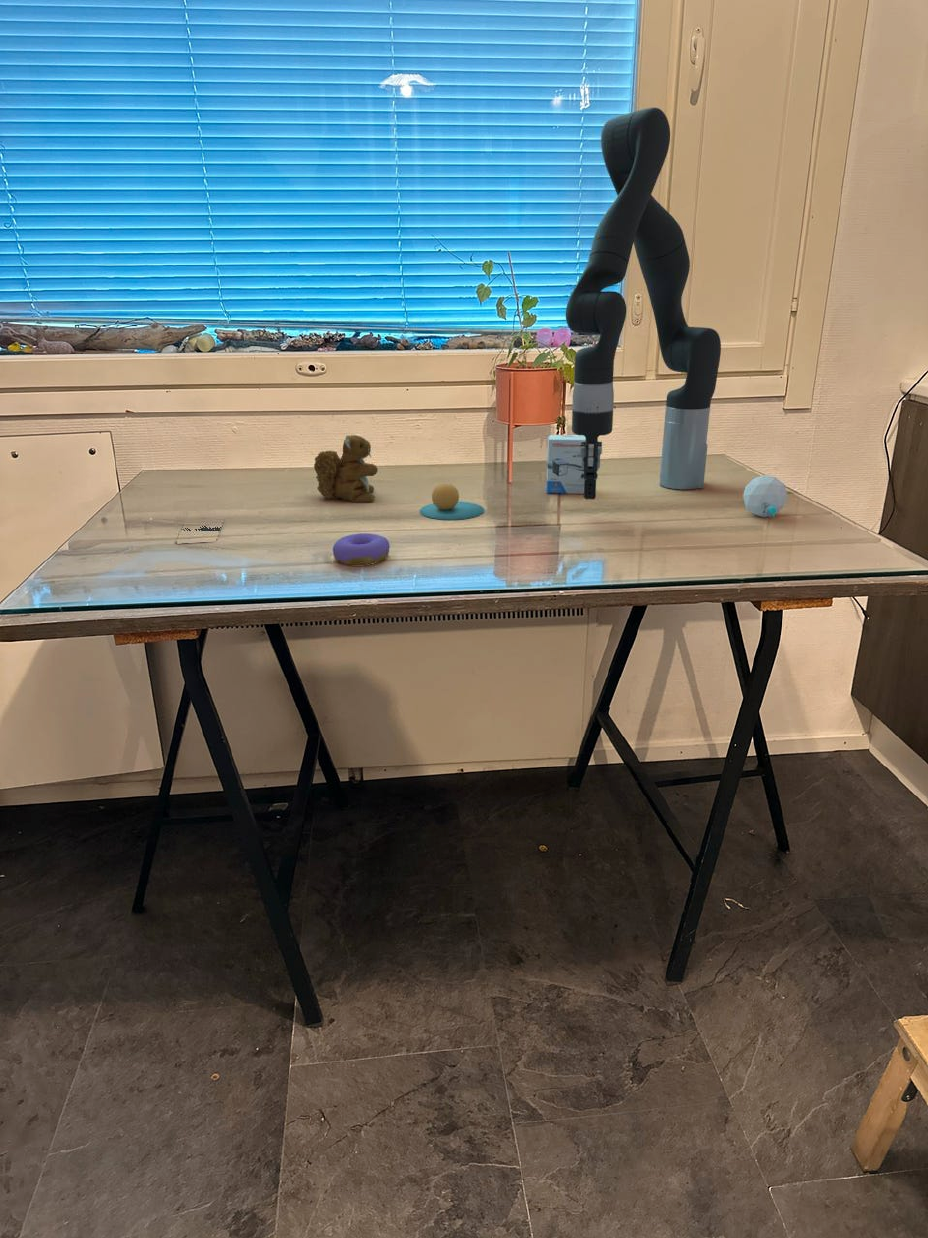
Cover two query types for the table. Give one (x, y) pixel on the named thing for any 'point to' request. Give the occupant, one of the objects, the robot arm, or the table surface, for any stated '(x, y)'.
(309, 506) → the table surface
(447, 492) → the ball
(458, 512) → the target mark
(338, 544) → the donut
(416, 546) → the table surface
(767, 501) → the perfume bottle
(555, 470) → the ink box
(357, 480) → the stuffed squirrel
